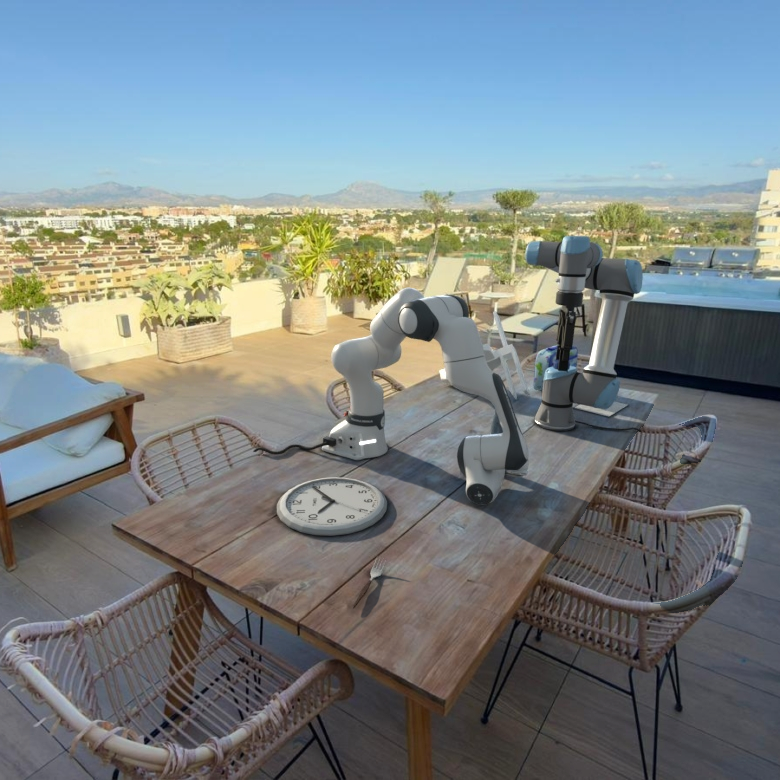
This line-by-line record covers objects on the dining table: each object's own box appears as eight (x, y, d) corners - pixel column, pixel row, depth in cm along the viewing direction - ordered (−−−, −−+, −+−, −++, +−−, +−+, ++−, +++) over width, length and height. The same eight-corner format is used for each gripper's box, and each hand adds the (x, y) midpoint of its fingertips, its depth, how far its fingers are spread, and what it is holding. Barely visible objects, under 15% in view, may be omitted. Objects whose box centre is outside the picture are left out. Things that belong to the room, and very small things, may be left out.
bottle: (503, 468, 166) (509, 403, 160) (502, 475, 162) (508, 408, 155) (488, 466, 167) (493, 402, 161) (487, 473, 163) (492, 407, 156)
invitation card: (608, 416, 214) (573, 407, 224) (608, 416, 214) (573, 408, 224) (628, 404, 229) (594, 396, 238) (628, 405, 229) (594, 397, 238)
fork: (347, 608, 104) (347, 600, 103) (376, 563, 118) (376, 555, 118) (359, 612, 103) (359, 603, 103) (387, 565, 118) (387, 558, 117)
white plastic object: (461, 429, 252) (437, 405, 227) (444, 352, 274) (420, 323, 250) (535, 404, 240) (518, 377, 215) (510, 326, 262) (492, 293, 237)
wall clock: (392, 527, 129) (268, 531, 127) (391, 533, 130) (269, 537, 127) (383, 473, 158) (282, 475, 155) (383, 478, 158) (282, 480, 156)
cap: (549, 367, 160) (550, 360, 159) (559, 365, 162) (559, 358, 162) (563, 371, 156) (564, 364, 155) (572, 368, 159) (573, 361, 158)
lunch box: (550, 397, 237) (555, 352, 231) (529, 391, 245) (533, 348, 238) (577, 386, 255) (582, 344, 249) (556, 381, 262) (561, 340, 256)
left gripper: (527, 466, 147) (532, 447, 159) (456, 454, 153) (466, 437, 166) (525, 486, 149) (530, 466, 161) (455, 474, 155) (465, 456, 168)
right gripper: (552, 287, 161) (544, 360, 168) (562, 294, 144) (553, 375, 151) (577, 288, 160) (568, 361, 167) (590, 295, 143) (580, 377, 150)
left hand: (497, 451), depth 164 cm, fingers closed on bottle, 5 cm apart
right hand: (561, 368), depth 159 cm, fingers closed on cap, 5 cm apart
